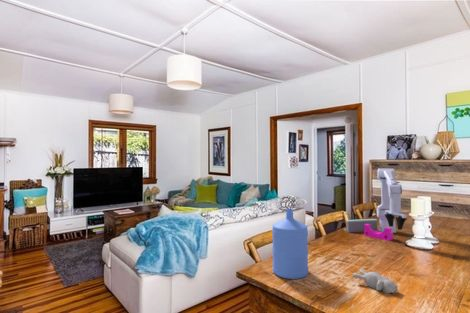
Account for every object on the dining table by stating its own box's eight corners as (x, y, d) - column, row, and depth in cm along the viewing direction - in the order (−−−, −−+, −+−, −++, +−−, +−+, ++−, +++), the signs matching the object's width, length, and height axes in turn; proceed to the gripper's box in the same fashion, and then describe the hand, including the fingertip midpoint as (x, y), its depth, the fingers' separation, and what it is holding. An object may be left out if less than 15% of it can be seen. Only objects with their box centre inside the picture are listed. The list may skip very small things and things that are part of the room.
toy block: (393, 239, 168) (392, 227, 168) (389, 241, 164) (389, 229, 164) (368, 234, 180) (368, 223, 180) (364, 236, 176) (364, 224, 176)
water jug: (301, 283, 109) (301, 214, 110) (266, 274, 118) (266, 210, 118) (312, 269, 123) (312, 208, 123) (280, 262, 131) (280, 205, 131)
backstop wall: (371, 228, 193) (371, 217, 193) (377, 230, 187) (377, 219, 187) (343, 230, 190) (343, 219, 190) (348, 232, 184) (348, 221, 184)
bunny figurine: (391, 287, 97) (351, 269, 109) (389, 300, 98) (350, 281, 109) (401, 279, 103) (362, 263, 115) (399, 292, 104) (361, 275, 115)
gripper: (380, 203, 165) (380, 225, 165) (398, 207, 151) (398, 231, 151) (390, 202, 167) (390, 224, 167) (409, 206, 152) (409, 230, 152)
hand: (395, 227), depth 159 cm, fingers open, 6 cm apart
